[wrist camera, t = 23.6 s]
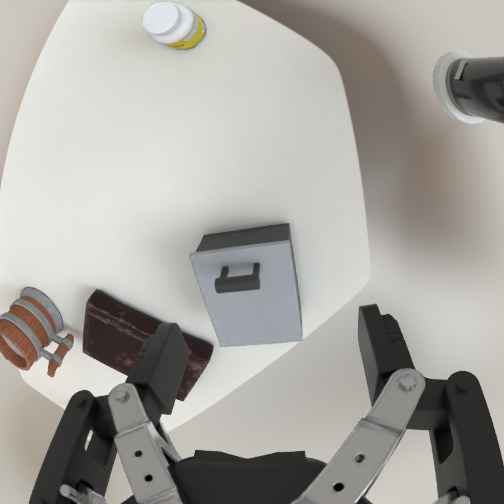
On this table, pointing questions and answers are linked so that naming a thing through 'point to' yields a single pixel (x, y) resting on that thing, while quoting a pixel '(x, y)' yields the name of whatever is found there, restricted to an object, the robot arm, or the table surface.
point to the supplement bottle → (174, 25)
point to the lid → (250, 293)
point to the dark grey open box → (251, 242)
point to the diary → (132, 339)
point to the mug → (33, 331)
